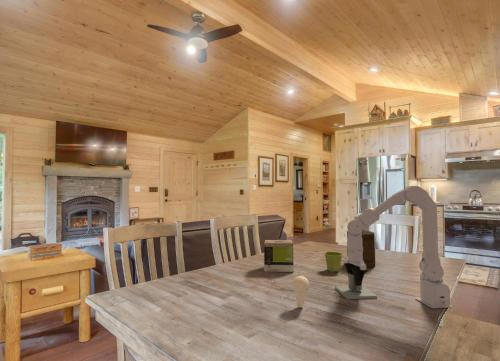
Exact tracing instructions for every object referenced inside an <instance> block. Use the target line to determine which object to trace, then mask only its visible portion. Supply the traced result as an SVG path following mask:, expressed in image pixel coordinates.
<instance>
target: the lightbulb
mask: <svg viewBox="0 0 500 361" xmlns="http://www.w3.org/2000/svg"><path fill="white" fill-rule="evenodd" d="M291 288H292V290H293V291H294V294H295V300H296V306H297V307H299V308H300V309H302V308H303V307H304V306H305V301H306V296H307V293H308V291H309V289H310V281H309V280H308V279H307V278H306V277H305V276H303V275H297V276H295V277H294V279H293V280H292V283H291Z"/></svg>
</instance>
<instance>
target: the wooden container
mask: <svg viewBox="0 0 500 361" xmlns="http://www.w3.org/2000/svg"><path fill="white" fill-rule="evenodd" d="M348 232H349V231H348V230H346V240H347V242H346V244H347V245H346V256H348ZM375 237H376V234H375V232H374V231H371V230H365V228H364V229H363V231H362V253H363V262H364V264H365V265H366V269H370V268H375V267H376V239H375Z"/></svg>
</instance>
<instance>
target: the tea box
mask: <svg viewBox="0 0 500 361" xmlns="http://www.w3.org/2000/svg"><path fill="white" fill-rule="evenodd" d="M294 264H295V263H294V243H293V239H292V240H291V239H289V240H288V239H287V240H285V239H279V240H278V239H265V240H264V242H263V269H264V272H275V273H278V272H279V273H280V272H281V273H285V272H286V273H294V272H295V271H294V266H295V265H294Z"/></svg>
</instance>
